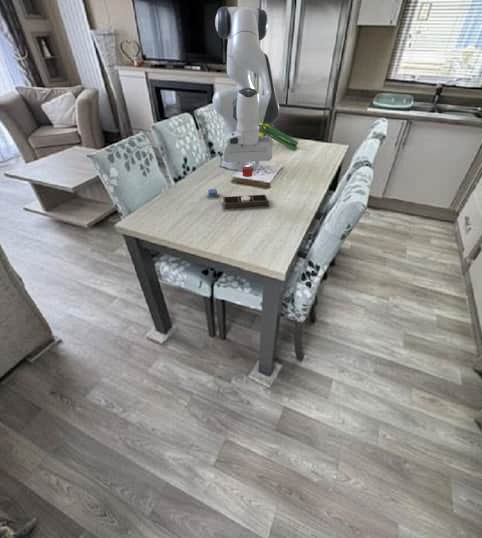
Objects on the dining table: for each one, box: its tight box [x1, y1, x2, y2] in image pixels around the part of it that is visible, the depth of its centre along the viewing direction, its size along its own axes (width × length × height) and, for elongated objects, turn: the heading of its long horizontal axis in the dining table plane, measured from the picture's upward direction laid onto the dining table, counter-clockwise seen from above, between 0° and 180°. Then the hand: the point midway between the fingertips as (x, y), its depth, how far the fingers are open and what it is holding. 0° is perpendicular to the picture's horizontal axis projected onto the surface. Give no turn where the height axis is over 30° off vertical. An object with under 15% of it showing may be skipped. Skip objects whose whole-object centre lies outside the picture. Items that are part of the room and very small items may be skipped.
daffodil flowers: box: [258, 123, 300, 151], centre depth 202 cm, size 17×15×35 cm
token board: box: [222, 194, 269, 210], centre depth 135 cm, size 7×20×3 cm, turn 99°
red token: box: [242, 166, 253, 178], centre depth 126 cm, size 4×4×3 cm
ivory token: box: [241, 195, 250, 202], centre depth 134 cm, size 4×4×3 cm
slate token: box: [207, 188, 218, 198], centre depth 141 cm, size 4×4×3 cm
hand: (247, 171), depth 126 cm, fingers closed on red token, 4 cm apart
